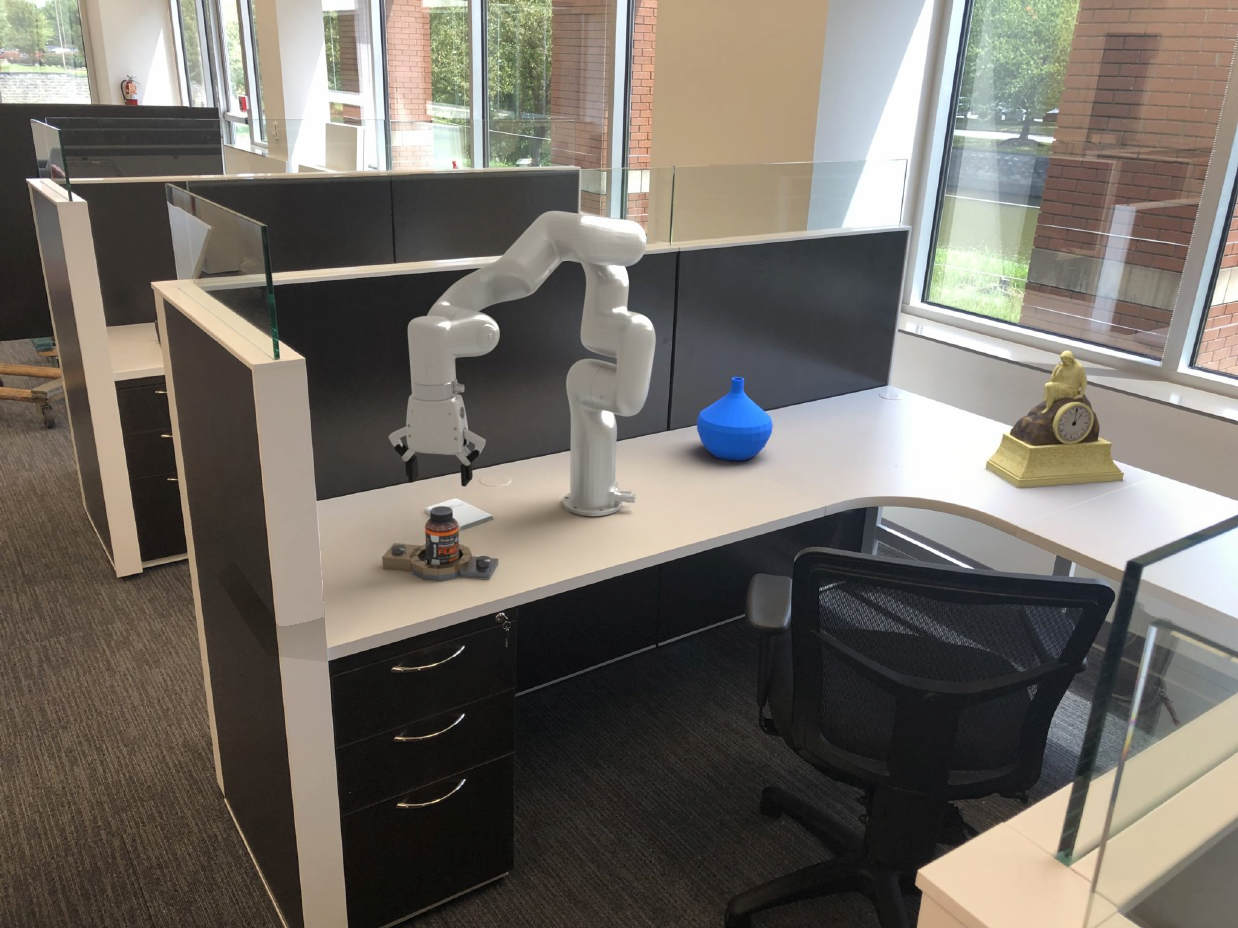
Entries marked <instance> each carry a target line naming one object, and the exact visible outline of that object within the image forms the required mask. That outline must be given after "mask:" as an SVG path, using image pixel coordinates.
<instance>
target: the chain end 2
mask: <svg viewBox="0 0 1238 928" xmlns="http://www.w3.org/2000/svg"><path fill="white" fill-rule="evenodd" d="M461 557H462V556H461V555H459V560H460V559H461ZM419 560H420V561H422V562H425V561H426V555H424V556H422V557H421V558H420V559H419ZM498 566H499V558H495V557H490V556H488V555H479V556H473V555H472V561H471V563H470V564H469V566H468V567H467V568H465V569H463V570H460V571H458V572H456V573H451V574H444V575H432V574H423V573H421V572H418V571H416V570H414V569H412V567H411V572H410V573H411V575H412V576H415V577H417V578H419V579H421V580H423V581H433V582H434V581H435V582H443V581H450V580H456V579H458V578H461V577H462V578H470V579H471V578H472V579H481V580H482V579H484V580H490V579H491V578H492V576H493V575H494V573H495V571H496V569H497V568H498Z"/></svg>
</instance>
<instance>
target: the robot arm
mask: <svg viewBox="0 0 1238 928" xmlns="http://www.w3.org/2000/svg"><path fill="white" fill-rule="evenodd" d="M646 250H647V236H646V233H645V230H644V228H643V227H642V226H641V225H640V224H639V223H638V222H636V221H635V220H631V219H624V218H616V217H608V216H604V215H603V216H602V215H597V214H583V213H575V212H570V211H569V212H568V211H561V210H551V211H550V210H548V211H546V212H544V213H542V214H540V215H539V216H538V217H537V218H536V219H535V220H534V221H533V222H532V223H531V225H530V226H528V227H527V229H526V230H524V232H522V234H521V235H520V236H519V237H518V238H517V239H516V240H515V242H514V243H512V245H511V246H510V247H509V248H508V249H507V250H506V251H505V253H504V254H502V256H500V258H499V259H497V260H495V261H493V262H492V263H489V264H487V265H485V266H482V267H480V268H479V269H477V270H475V271H474V272H471V273H469V274H467V275H465V276H464V277H462V278H460V279H459V280H457V281H455V283H453V284H452V285H451V286H450V287H449V288H448V289H447V290H446V291H445V292H443V294H442V295H441V296H440V297H439V298H438V299H437V300H436V302H435V303H434V304H433V305H432V306H431V308H430V309H429V311H428V312H427V314H426V315H422V316H418V317H415V318H413V319H411V321H409V323H408V326H407V340H408V353H409V366H410V380H411V381H410V382H411V383H410V384H411V394H410V395H409V396H408V400H407V401H408V402H407V409H406V420H405V421H406V422H405V424H406V425H405V427H402V428H400V429H398V430H395V431H393V432H392V433H390V434H389V435H388V439H389V441H390V443H391V444H392V446H393V447H394V451H395V452H396V453H397V454H398V455H399V456H400V457H401V459H402V461H404V465H405V476H406V477H408V483H411V484H412V483H414V482H415V480H416V479H418V477H419V466H418V465H419V464H418V457H417V455H416V454H415V453H421V454H431V455H432V454H434V455H445V456H446V455H447V456H456V457H457V458H458V459H459V460H460V462H461V463H462V464H461V465H460V467H459V468H460V483H461V486H462V487H467V485H469V483H470V482H471V481H472V480H473V477H474V476H473V462H474V461H475V460H476V459H477V458H478V457H479V456H480V454H481V453H482V451H483V449H484V448H485V445H486V443H487V440H486V439H485V438H484V437H482V436H480V435H479V434H476V433H474V432H473V431H471V430H469V427H468V419H467V413H466V408H465V404H464V400H463V397H462V395H461V394H459V393H464V392H465V384H461V383H458V379H457V378H456V377H457V376H456V373H457V372H456V359H458V358H466V357H468V358H469V357H479V356H480V357H481V356H484V355H486V354H488V353H490V352H491V351H493V350H494V349H495V348H496V346H497V345H498V343H499V340H500V336H501V335H500V333H501V332H500V328H499V325H498V323H497V322H496V320H495V319H493V318H492V317H491V316H489V315H488V314H486V313H484V312H480V311H482V310H483V309H486V308H487V307H489V306H492V305H495V304H500V303H503V302H508V301H509V302H510V301H515V300H519V299H523V298H526V297H528V296H530V295H533V294H534V293H535V292H536V291H537V290H538V289H539V288H540V287H541V285H543V283H544V282H545V281H546V280H547V279H548V278H549V276H551V274H552V273H553V272H554V271H555V270H556V269H557V268H558V267H559V266H560V265H561V263H562V262H564V261H569V262H573V263H574V262H575V263H580V264H581V266H582V268H583V271H584V275H585V283H586V285H585V296H584V303H583V311H582V319H581V325H580V341H581V344H582V346H584V348H585V349H587V350H588V351H590V352H593V353H595V354H598V355H603V356H606V357H610V358H615V359H616V364H615V363H612V362H608V361H605V360H600V359H595V358H584V359H580V360H577V361H576V362H575V363H573V364H572V365H571V367H570V368H569V370H568V373H567V375H566V378H565V379H566V380H565V381H566V382H565V384H566V394H567V398H568V399H567V400H568V404H569V411H570V458H569V459H570V460H569V461H570V463H569V464H570V465H569V467H570V468H569V469H570V470H569V471H570V473H569V474H570V475H569V481H570V482H569V493H567V494H565V496H563V498H562V506H563V508H564V509H565V510H566V511H568V512H570V513H572V514H576V515H578V516H579V515H580V516H584V517H601V516H602V517H603V516H608V515H611V514H614V513H616V512H618V511H619V510H620V509H621V508H622V506H623V503H629V504H635V503H636V493H632V490H630V489H621V488H620V487H619V482H618V481H617V482H616V467H617V465H616V464H617V437H618V427H617V421H616V416H615V415H617V416H621V417H632V416H635V415H637V414H638V413H640V411H642V408H643V407H644V406H645V403H646V401H647V398H648V395H649V390H650V383H651V377H652V371H653V365H654V364H653V363H654V356H655V351H656V343H657V341H656V340H657V337H656V331H655V327H654V325H653V323H652V321H651V320H650V319H649V318H648V317H647V316H645V314H641V313H639V312H635V311H630V310H628V302H629V300H628V299H629V289H630V288H629V287H630V282H629V274H628V271H627V269H626V267H629V266H633V265H635V264H637V263H638V262H639V261H641V259H642V258H643V256H644V254H645V252H646ZM403 437H406V444H407V445H406V444H404V442H402V440H401V438H403ZM469 442H471V443H472V444H473V445H474V449H473V450H472V451H471V450H470V449H469V448H468V447H467V446H468V445H469Z"/></svg>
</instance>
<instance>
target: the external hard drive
mask: <svg viewBox="0 0 1238 928" xmlns="http://www.w3.org/2000/svg"><path fill="white" fill-rule="evenodd" d="M438 506H446V507H450V508H451V509H452V510H453V518H454V519H456V521H457V522H458V531H465V530H467V529H470V528H473V527H477V526H479V525H482V524H485V523H488V522H491V521H493V520H494V515H493V514H490V513H488V512H486V511H484V510H482V509H479V508H477V507H475V506H473V505H471V504H470V503H467V502H465V501H463V500H461V499H459V498H451V499H449V500H445V501H443V502H439V503H435V504H433V505H429V506H425V508H424V512H425V513H426V514H428V515H430V510H431V509H432V508H434V507H438Z"/></svg>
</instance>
